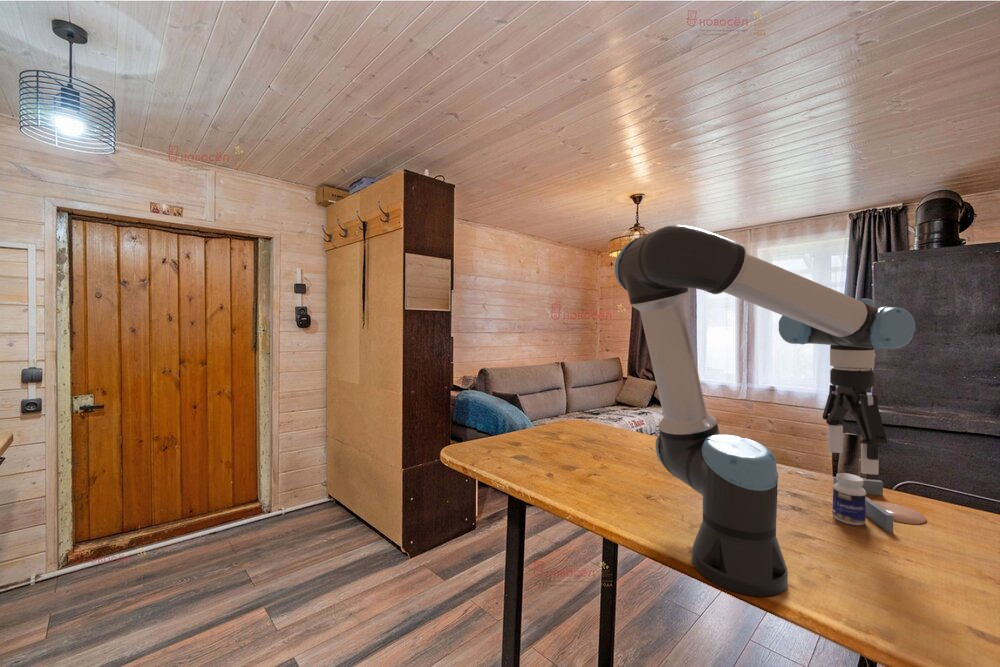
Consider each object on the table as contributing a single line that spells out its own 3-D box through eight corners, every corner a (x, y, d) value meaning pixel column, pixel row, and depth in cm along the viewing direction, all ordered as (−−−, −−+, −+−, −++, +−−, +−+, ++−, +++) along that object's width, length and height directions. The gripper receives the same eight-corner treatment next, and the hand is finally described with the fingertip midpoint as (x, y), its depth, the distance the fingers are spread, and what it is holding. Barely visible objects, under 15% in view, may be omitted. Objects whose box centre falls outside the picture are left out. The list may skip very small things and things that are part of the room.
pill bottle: (835, 522, 92) (836, 478, 91) (829, 511, 97) (830, 470, 96) (869, 528, 89) (870, 483, 89) (861, 517, 94) (862, 474, 94)
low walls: (945, 537, 85) (946, 520, 85) (886, 531, 88) (886, 515, 88) (879, 493, 106) (880, 480, 106) (833, 489, 109) (833, 476, 109)
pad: (938, 526, 90) (938, 524, 90) (883, 521, 92) (883, 519, 92) (906, 505, 99) (906, 504, 99) (857, 501, 102) (857, 500, 102)
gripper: (912, 376, 79) (910, 485, 79) (841, 361, 103) (840, 445, 104) (865, 376, 81) (864, 483, 81) (806, 361, 105) (806, 444, 105)
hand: (851, 462), depth 92 cm, fingers open, 13 cm apart
